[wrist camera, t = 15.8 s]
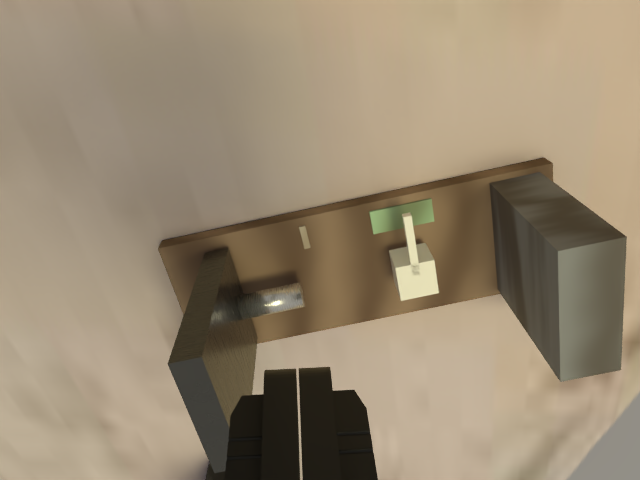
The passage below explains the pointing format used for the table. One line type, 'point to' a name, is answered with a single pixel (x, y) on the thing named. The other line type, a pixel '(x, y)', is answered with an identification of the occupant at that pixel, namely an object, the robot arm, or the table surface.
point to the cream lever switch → (413, 266)
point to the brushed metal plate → (221, 347)
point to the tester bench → (438, 261)
